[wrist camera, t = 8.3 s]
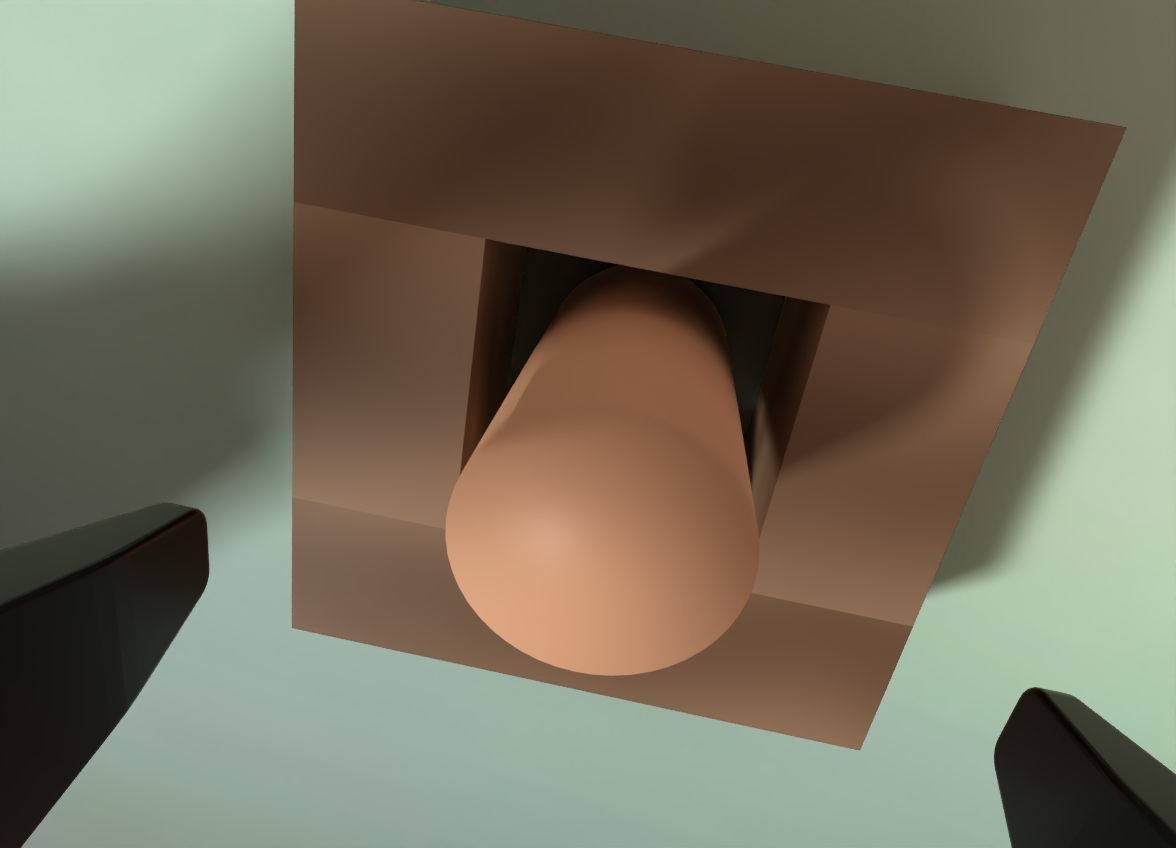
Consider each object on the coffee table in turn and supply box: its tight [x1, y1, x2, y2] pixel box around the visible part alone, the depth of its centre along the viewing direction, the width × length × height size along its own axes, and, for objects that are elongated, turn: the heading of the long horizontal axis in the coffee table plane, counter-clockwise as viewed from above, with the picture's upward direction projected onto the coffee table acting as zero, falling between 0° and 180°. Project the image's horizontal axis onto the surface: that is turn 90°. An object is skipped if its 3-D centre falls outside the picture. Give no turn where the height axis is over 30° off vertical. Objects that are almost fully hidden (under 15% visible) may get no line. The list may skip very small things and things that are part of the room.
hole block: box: [292, 0, 1127, 750], centre depth 15 cm, size 12×12×4 cm
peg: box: [445, 265, 760, 676], centre depth 13 cm, size 4×4×8 cm
